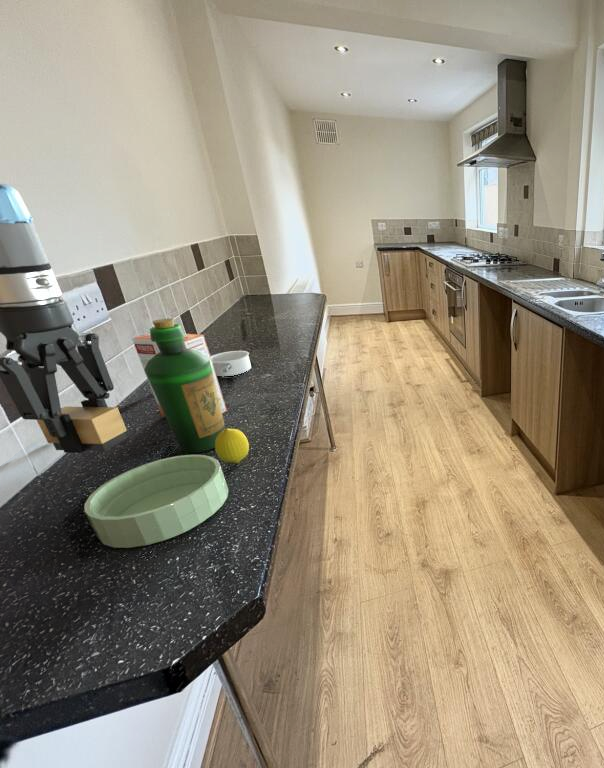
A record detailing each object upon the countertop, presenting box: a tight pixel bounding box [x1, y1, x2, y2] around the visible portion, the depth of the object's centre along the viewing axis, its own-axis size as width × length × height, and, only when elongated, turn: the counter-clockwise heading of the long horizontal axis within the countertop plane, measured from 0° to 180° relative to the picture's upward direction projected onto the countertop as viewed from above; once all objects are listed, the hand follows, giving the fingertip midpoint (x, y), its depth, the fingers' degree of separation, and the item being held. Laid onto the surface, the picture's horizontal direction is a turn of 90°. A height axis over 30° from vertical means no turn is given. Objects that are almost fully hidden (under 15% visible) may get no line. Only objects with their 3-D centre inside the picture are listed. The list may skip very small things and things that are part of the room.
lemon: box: [214, 427, 250, 464], centre depth 82 cm, size 6×6×8 cm
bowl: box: [83, 454, 229, 549], centre depth 69 cm, size 17×17×6 cm
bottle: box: [143, 318, 226, 454], centre depth 85 cm, size 11×11×28 cm
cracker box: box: [131, 332, 228, 418], centre depth 100 cm, size 14×6×21 cm, turn 81°
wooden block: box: [36, 405, 127, 452], centre depth 66 cm, size 9×4×6 cm, turn 88°
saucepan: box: [210, 350, 252, 378], centre depth 127 cm, size 12×20×6 cm, turn 29°
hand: (90, 442), depth 67 cm, fingers closed on wooden block, 4 cm apart
